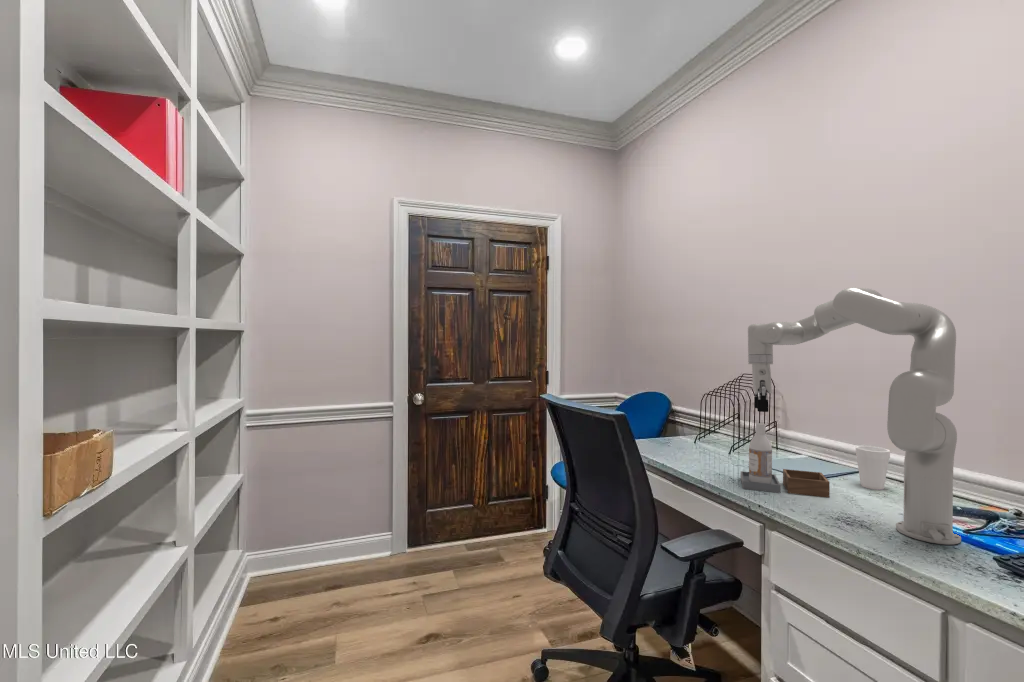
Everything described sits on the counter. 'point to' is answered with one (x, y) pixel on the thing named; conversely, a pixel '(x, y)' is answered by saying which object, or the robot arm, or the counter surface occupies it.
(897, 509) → the counter surface
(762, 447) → the bath foam
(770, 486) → the tray
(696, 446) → the counter surface
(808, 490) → the small wooden crate
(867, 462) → the foam cup
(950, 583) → the counter surface
